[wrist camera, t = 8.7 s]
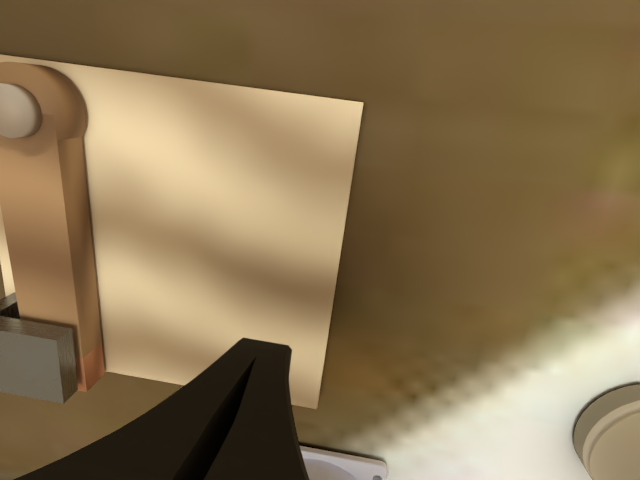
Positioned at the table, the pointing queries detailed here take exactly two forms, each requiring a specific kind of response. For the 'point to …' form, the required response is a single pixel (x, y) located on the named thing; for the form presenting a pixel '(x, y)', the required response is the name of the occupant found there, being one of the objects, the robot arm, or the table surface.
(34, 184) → the link
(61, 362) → the keeper
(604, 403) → the travel mug
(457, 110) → the table surface
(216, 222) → the latch board
